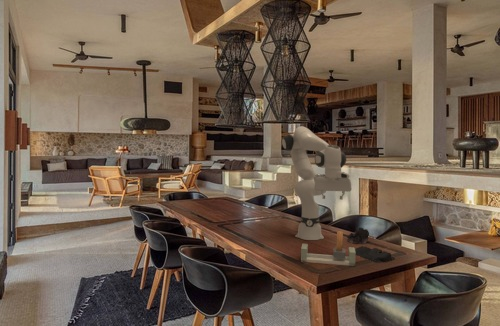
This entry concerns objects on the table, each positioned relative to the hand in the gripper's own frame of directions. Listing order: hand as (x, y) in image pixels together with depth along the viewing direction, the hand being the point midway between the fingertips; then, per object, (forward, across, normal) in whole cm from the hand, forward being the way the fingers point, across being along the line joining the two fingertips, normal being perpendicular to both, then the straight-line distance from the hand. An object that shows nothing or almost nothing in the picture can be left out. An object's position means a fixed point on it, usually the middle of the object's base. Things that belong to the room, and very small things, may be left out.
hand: (332, 199), depth 210 cm
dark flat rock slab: (+33, +22, +7) cm, 41 cm away
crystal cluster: (+32, +16, +37) cm, 52 cm away
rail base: (+32, -2, -9) cm, 34 cm away
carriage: (+29, +4, -9) cm, 31 cm away
